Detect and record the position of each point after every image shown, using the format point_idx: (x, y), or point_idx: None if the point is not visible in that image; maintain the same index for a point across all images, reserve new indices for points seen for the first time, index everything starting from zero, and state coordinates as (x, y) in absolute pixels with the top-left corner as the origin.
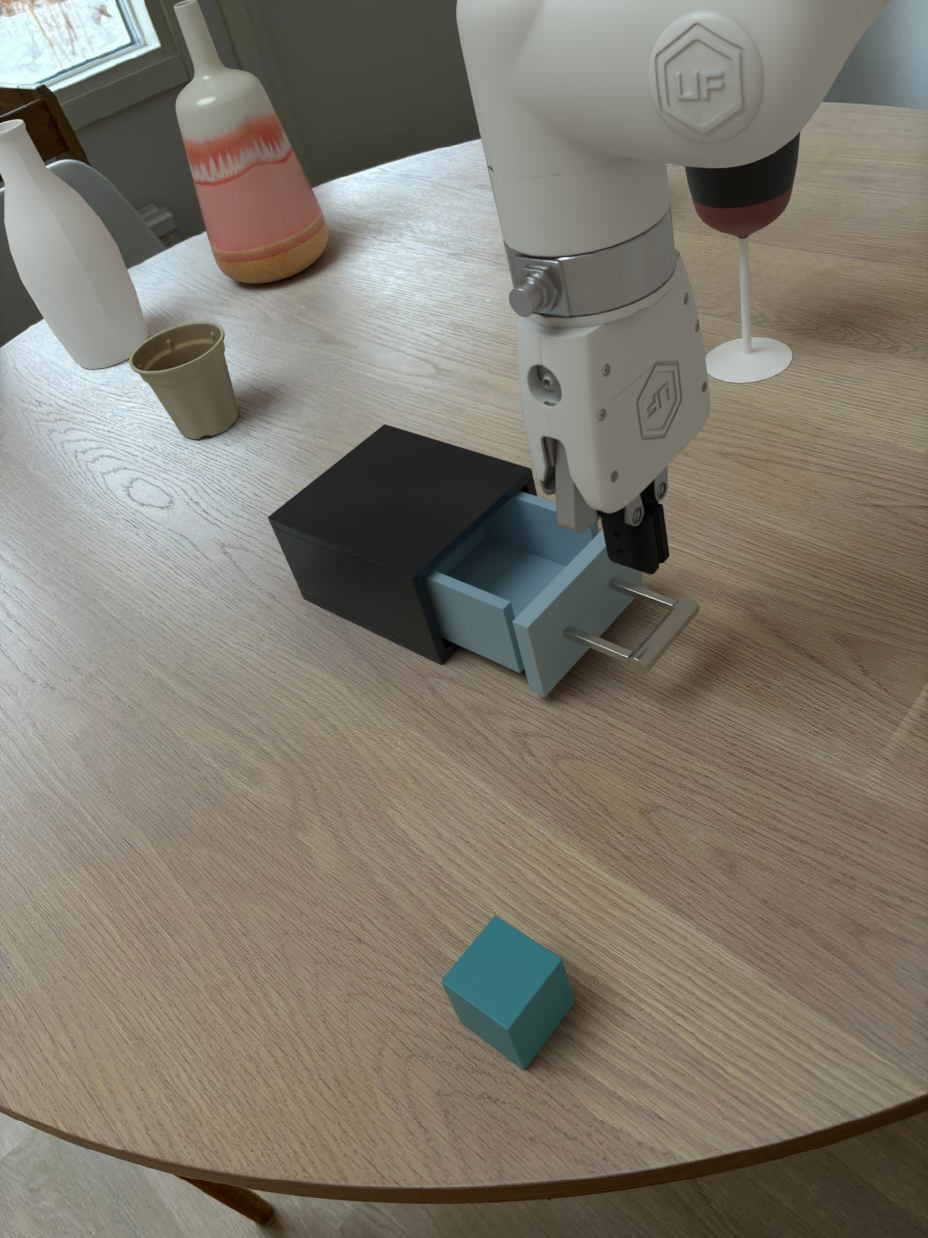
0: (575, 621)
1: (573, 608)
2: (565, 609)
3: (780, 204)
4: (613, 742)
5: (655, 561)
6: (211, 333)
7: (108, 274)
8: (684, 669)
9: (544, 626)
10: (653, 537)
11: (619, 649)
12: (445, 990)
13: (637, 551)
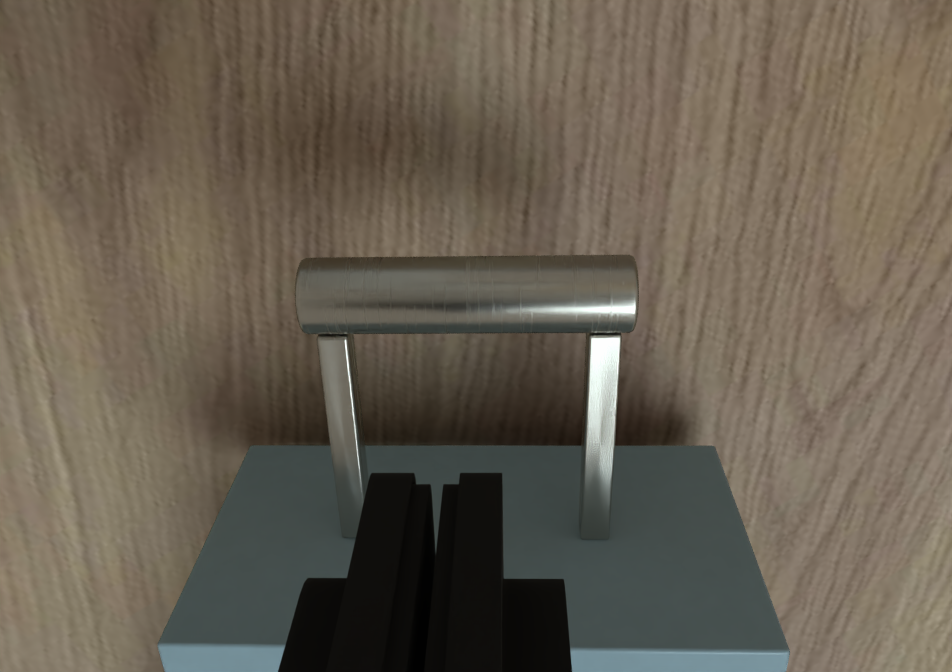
0: (550, 532)
1: (549, 569)
2: (588, 589)
3: None
4: (740, 224)
5: (481, 510)
6: None
7: None
8: (417, 204)
9: (698, 603)
10: (467, 628)
11: (603, 374)
12: None
13: (524, 618)
